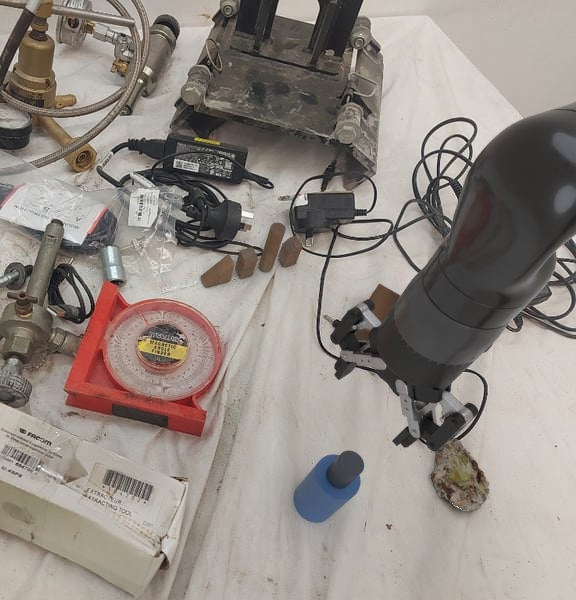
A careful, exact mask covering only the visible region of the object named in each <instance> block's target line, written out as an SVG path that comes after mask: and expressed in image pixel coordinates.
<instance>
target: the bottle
mask: <svg viewBox="0 0 576 600" xmlns="http://www.w3.org/2000/svg"><path fill="white" fill-rule="evenodd" d="M364 470H365V462H364V459H363V458H362V456H361V455H360V454H359V453H358V452H356V451H354V450H347V449H346V450H344V451H343V452H341V453H340V454H327V455H325V456H322V458H320V459H319V460H318V462H317V463H316V464H315V466H314V467H313V468H312V469H310V471H309V473H308V474H307V475H306V476H305V477H304V479H303V480H302V481H301V482H300V483H299V485H297V487H296V488H295V490H294V493H293V505H294V507H295V509H296V511H297V513H298V514H299V516H301V517H302V518H303V519H304V520H306V521H309V522H311V523H323V522H325V521H327V520H328V519H329V518H330V517H332V516H333V515H334V514H335V513H336V512H337V511H339V510H340V509H341V508H342V507H343V506H344V505H346V504H347V503H348V502H349V501H350V500H351V499H352V498H353V497H355V496H356V495H357V494H358V493H359V490H360V487H361V481H362V480H361V474H362V473H363V472H364Z"/></svg>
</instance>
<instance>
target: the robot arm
mask: <svg viewBox="0 0 576 600" xmlns="http://www.w3.org/2000/svg"><path fill="white" fill-rule="evenodd" d="M464 178H465V179H464V181H463V185H462V188H461V192H460V194H459V197H458V199H457V204H456V207H455V210H454V213H453V215H452V220H451V226H450V230H449V232H448V233H447V235H446V236H445V237H444V238H443V240H442V241H441V243H440V244H439V245H438V247H437V248H436V250H435V251H434V252H433V254H432V255H431V257H430V258H429V260H428V261H427V262H426V264H425V265H424V266H423V267H422V268H421V270H419V271H418V272H417V273H416V274H415V275H414V277H413V278H412V279H411V280H410V282H409V283H408V284H407V286H405V289H404V290H403V291H402V293H401V294H400V295H401V296H400V297H399V299H398V300H397V302H396V303H395V304H394V306H393V307H392V309H391V310H390V312H389V313H388V315H387V316H386V318H385V319H384V320H383V322H382V323H381V322H380V320H379V319H378V318H377V317H376V316H375V315H374V314H373V313H372V312H373V311H374V309H375V305H374V303H373V302H372V301H371V300H369V298H367V299H365V300H363V301H362V302H360V303H358V304H357V305H355V306H353V307H351V308H350V309H348V310H347V311H346V313H345V314H344V316H342V318H341V320H340V321H339V322H338V324H337V325H336V326H335V328H334V329H333V331H332V332H331V334H330V335H329V339H330V341H331V342H332V343H333V344H334V345H336V346H339V348H340V352H339V357H338V358H337V360H336V362H335V363H334V364H333V369H334V370H335V372H334V374H333V376H334V377H335V378H336V379H337V381H339V380H342V379H344V378H345V377H346V376H348V375H350V374H351V373H352V372H353V371H354V370H355V368H356V367H357V366H359V367H367V368H374V369H375V370H374V373H375V374H376V375H377V376H378V377H379V378H380V379H381V380H382V381H384V382H385V383H386V384H387V385H388V387H389V388H390V390H391V391H392V392H393V393H394V394H395V395H396V397H398V398H399V402H400V407H401V415H402V416H404V417H406V420H407V421H406V422H407V425H406V427H404V428H403V429H402V430H401V431H400V432H399V433H398V434H397V435H396V436H395V437H394V438H393V439H392V440H391V442H392V443H393V444H394V445H395V446H396V447H398V446H400V445H401V446H402V447H403V448H405V449H406V448H409V447H410V446H412V445H413V444H415V443H416V442H417V441H418V440H419V439H422V440H423V441H425V445H426V447H427V448H428V450H430V452H433V453H436V451H438V450H439V449H440V448H441V447H442V446H443V445H444V444H446V443H447V442H448V441H450V440H452V439H453V438H456V436H457V435H458V434H459V433H461V432H462V431H463V430H464V428H466V426H468V425H469V424H470V423H471V422H472V420H474V419H475V418H476V417H477V416H478V415H479V409H478V407H477V406H476V405H475V403H473V402H466V403H465V404H463V403H462V402H461V401H459V399H457V397H455V396H454V395H453V394H452V393H451V392H452V384H453V383H454V381H456V380H457V378H459V377H460V376H461V375H462V374H463V373H464V372H465V371H466V370H467V369H468V368H470V366H471V365H472V364H473V363H474V362H475V361H477V359H479V358H480V356H482V355H483V354H485V353H487V352H488V351H489V350H490V349H491V348H492V346H494V344H495V342H496V341H497V340H498V339H499V338H500V337H501V335H502V334H503V332H504V331H505V330H506V328H507V327H508V325H509V324H510V323H511V322H512V320H514V319H515V318H516V317H517V316H518V315H519V314H520V313H521V312H522V311H523V310H524V309H525V308H526V307H527V306H528V305H529V304H531V302H532V301H533V300H534V299H536V297H537V296H538V295H539V294H540V293H541V292H542V291H543V290H544V289H545V287H546V286H547V284H548V283H549V282H550V281H551V279H552V276H553V274H554V273H555V271H556V267H557V263H558V257H557V251H558V250H559V249H560V248H561V247H563V245H565V244H566V243H567V242H569V241H570V240H571V239H572V238H573V237H575V236H576V101H574V102H571V103H568V104H564V105H562V106H558V107H555V108H552V109H549V110H545V111H542V112H539V113H536V114H533V115H530V116H526V117H523V118H521V119H519V120H517V121H515V122H513V123H511V124H510V125H508V126H507V127H505V128H504V129H502V130H501V131H500V132H498V133H497V134H496V135H495V136H494V137H493V138H492V139H491V140H490V141H489V142H488V143H487V144H486V145H485V146H484V147H483V149H482V150H481V151H480V152H479V154H478V155H477V156H476V158H475V159H474V161H473V162H472V164H471V165H470V167H469V169H468V172H467V174H466V176H465V177H464ZM364 328H366V329H368V330H370V332H369V340H357V338H356V337H355V335H354V334H356V332H357V331H358V330H359V329H360V330H363V329H364ZM438 404H439V405H440V406H441V412H440V414H441V416H440V417H439V422H440V423H442V424H441V425H439V424H438V420H437V412H436V411H437V410H436V408H437V406H438Z"/></svg>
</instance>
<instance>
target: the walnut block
mask: <svg viewBox="0 0 576 600" xmlns="http://www.w3.org/2000/svg"><path fill="white" fill-rule="evenodd" d="M400 296H401V294H399V293H397V292H395V291H394V290H392V289H391V288H388V287H387V286H385V285H383V284H382V283H378V284H377V286H376V288H375V289H374V290H373V292H372V293H371V294H370V296H369V298H368V299H369V300H371V301H372V302H373V303H374V305H375V309H374V311H373V312H372V313H373V314H374V315H375V316H376V317H377V318H378V319H379V320H380V322H381V323H382V322H383V320H384V319H385V318H386V316H387V315H388V313H389V312H390V310H391V309H392V307H393V306H394V304H395V303H396V302H397V300H398V299H399V297H400ZM369 332H370V330H368V329H366V328H364V329H363V330H360V329H359V330H358V331H357V332H356V334H354V335H355V337H356V338H357V340H369Z"/></svg>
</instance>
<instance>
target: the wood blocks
mask: <svg viewBox="0 0 576 600" xmlns="http://www.w3.org/2000/svg"><path fill="white" fill-rule="evenodd" d="M286 231H287V227H286V226H285V224H283V223H281V222H278V221H277V222H273V223H272V224H271V225H270V227H269V230H268V233H267V236H266V240H265V243H264V246H263V249H262V253H261V256H260V259H259V256H258V254H257V253H256V250H255V249H254V248H253V246H251V247H246V248H243V249H240V250H239V251H238V255H237V258H236V263H235V262H234V259H233V258H232V256H231V254H230V253H227V254H226V255H224V256H223V257H222V258H221V259H220V260H219V261H217V262H216V263H215V264H213V265H212V266H211V267H210V268H209V269H208V270H206V271H205V272H204V273H203V274H201V275H200V280H201V282H202V283H203V285H204V288H208V287H213V286H217V285H220V284H225V283H228V282H230V281H232V276H233V273H234V269H235V271H236V273H237V274H238V277H239V278H240V279H243V278H247V277H251V276H253V275H254V272H255V271H256V267H257V263H258V268H259V269H260V270H261V271H262V272H265V273H266V272H267V273H268V272H270V270H271V269H272V270H273V267H274V265H275V263H276V259H277V258H278V257H279V258H278V260H279V259H280V260H279V262H280V263H281V265H282V267H283V268H285V267H289V266H294V265H296V264H297V262H298V260H299V258H300V255H301V252H302V250H303V248H304V245H303V243H302V242H301V240H300V238H299V237H298V236H297V235H294V236H290V237H289V238H287V239H286V240H285V241H283V239H284V236H285V234H286ZM258 260H259V262H258ZM272 270H271V271H272ZM196 285H197V281H193V282H192V281H191V282H189V283H186V284H182V285H180V286H179V289H184V288H190V287H194V286H196ZM176 289H178V286H172V288H168V289H167V288H165V289H162V290H161V294H165V293H169V292H172V291H176Z"/></svg>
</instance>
